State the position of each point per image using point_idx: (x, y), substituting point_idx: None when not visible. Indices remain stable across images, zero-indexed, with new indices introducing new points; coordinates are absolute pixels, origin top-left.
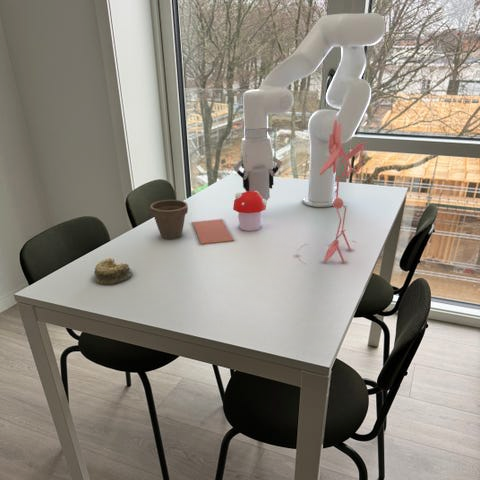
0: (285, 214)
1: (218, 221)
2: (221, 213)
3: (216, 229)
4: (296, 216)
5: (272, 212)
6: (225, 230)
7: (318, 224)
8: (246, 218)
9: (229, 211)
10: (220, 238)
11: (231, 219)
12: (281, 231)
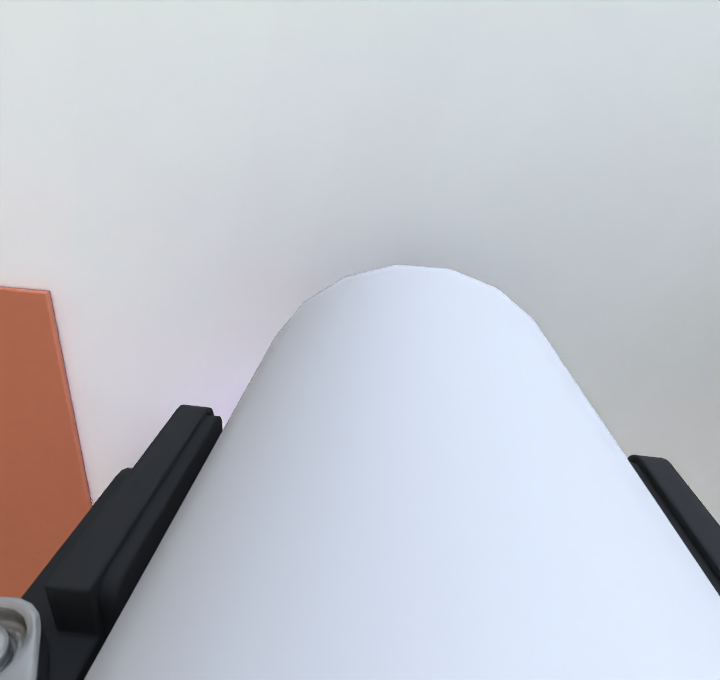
0: (633, 362)
1: (17, 334)
2: (47, 79)
3: (9, 479)
4: (680, 436)
5: (561, 266)
6: (73, 513)
7: None
8: None
9: (141, 39)
10: None
11: (139, 303)
12: None
